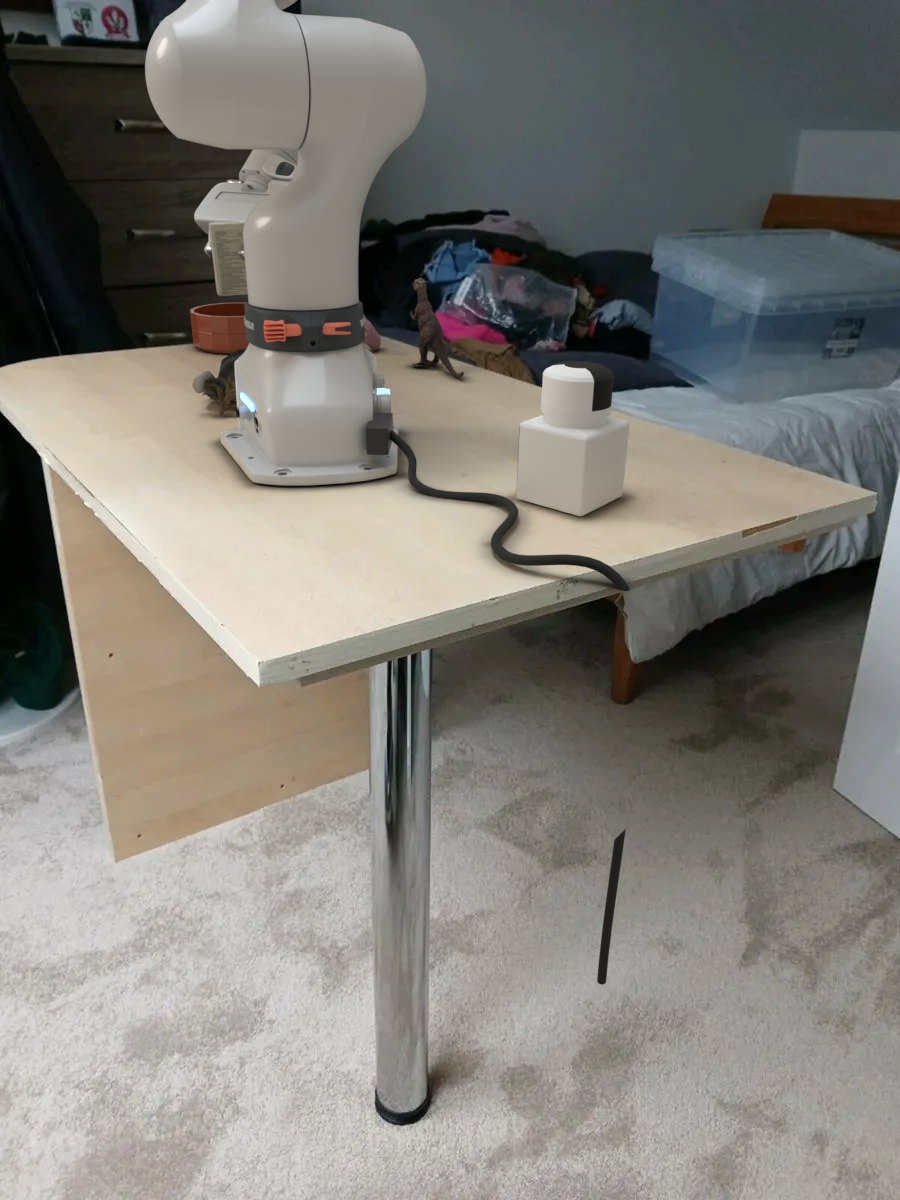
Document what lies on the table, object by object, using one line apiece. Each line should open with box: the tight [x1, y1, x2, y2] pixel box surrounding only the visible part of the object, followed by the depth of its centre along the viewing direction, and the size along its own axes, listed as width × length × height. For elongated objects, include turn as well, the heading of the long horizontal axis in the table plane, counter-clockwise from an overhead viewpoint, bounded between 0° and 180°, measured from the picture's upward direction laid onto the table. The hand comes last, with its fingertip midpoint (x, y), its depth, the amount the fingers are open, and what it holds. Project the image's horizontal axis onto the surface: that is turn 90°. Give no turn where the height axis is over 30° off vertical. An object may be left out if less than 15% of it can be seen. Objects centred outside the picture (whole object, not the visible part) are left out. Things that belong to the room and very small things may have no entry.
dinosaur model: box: [409, 277, 465, 378], centre depth 129 cm, size 4×12×15 cm
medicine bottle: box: [515, 360, 630, 517], centre depth 83 cm, size 7×7×12 cm
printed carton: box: [209, 222, 248, 297], centre depth 140 cm, size 5×4×10 cm
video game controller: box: [363, 317, 382, 351], centre depth 142 cm, size 10×5×7 cm, turn 73°
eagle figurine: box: [192, 349, 246, 417], centre depth 111 cm, size 8×7×9 cm
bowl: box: [189, 302, 249, 355], centre depth 144 cm, size 13×13×6 cm
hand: (227, 256), depth 139 cm, fingers closed on printed carton, 6 cm apart
